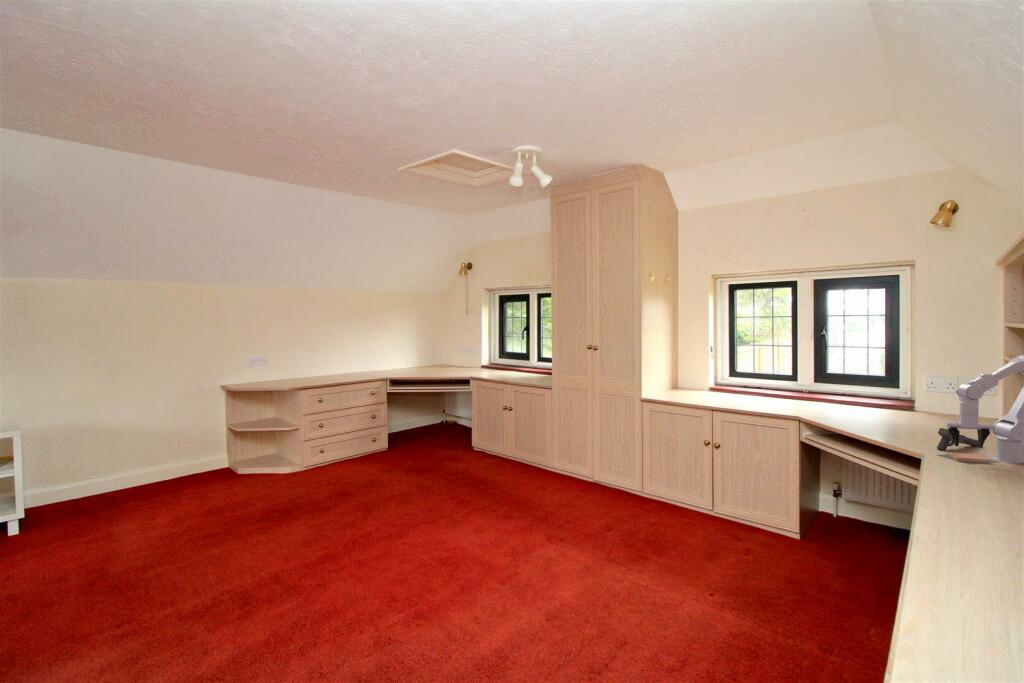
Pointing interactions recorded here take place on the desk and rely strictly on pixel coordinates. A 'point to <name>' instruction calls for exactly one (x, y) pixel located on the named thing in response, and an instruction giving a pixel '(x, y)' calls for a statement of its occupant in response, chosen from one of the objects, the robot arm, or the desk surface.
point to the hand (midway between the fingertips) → (968, 446)
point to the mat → (966, 462)
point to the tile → (968, 457)
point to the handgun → (947, 438)
